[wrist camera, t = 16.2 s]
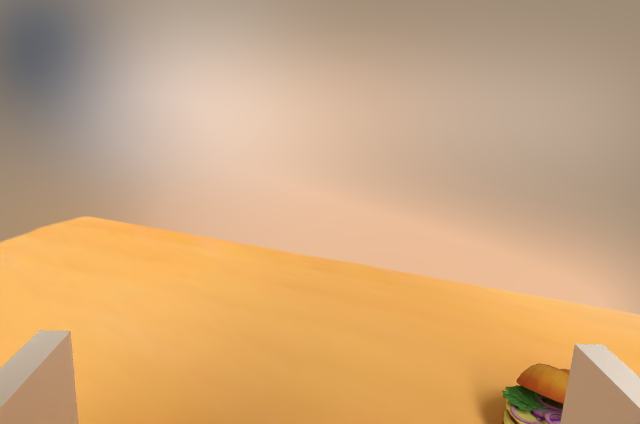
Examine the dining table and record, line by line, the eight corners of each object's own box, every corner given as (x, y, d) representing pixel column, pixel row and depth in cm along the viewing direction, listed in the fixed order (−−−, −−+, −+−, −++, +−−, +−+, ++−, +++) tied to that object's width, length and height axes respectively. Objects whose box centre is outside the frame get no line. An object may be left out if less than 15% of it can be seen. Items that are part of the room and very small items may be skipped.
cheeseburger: (477, 445, 56) (498, 356, 55) (516, 424, 64) (534, 346, 63) (576, 497, 49) (600, 397, 49) (605, 466, 57) (627, 379, 56)
